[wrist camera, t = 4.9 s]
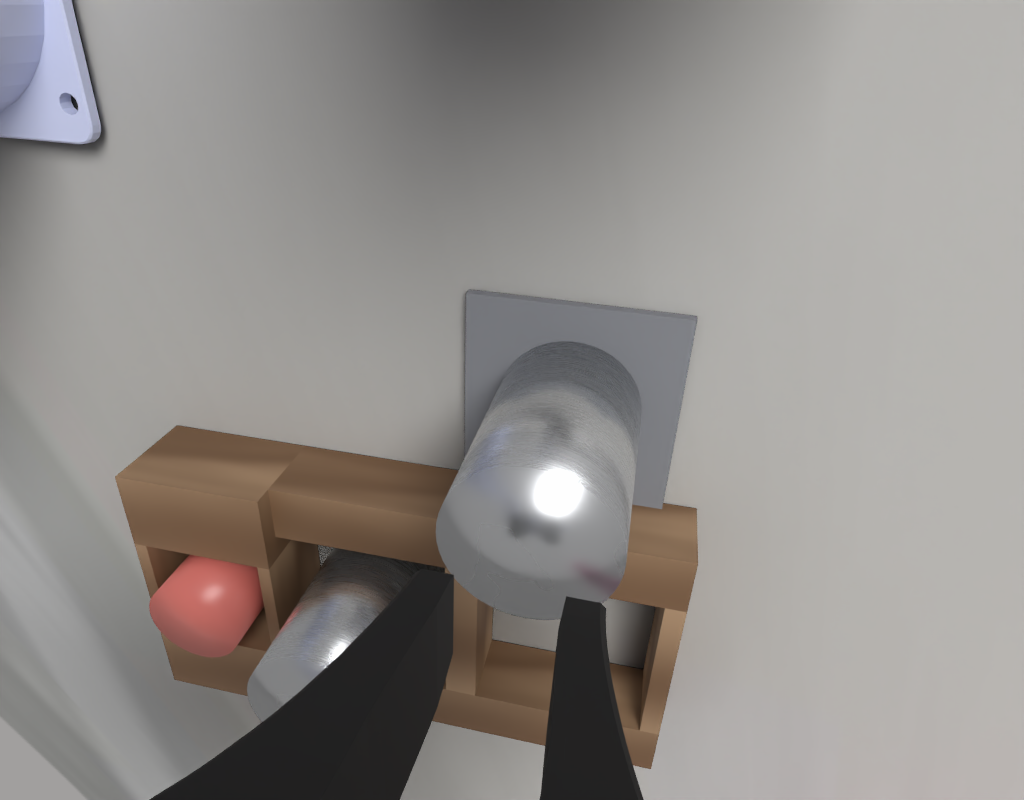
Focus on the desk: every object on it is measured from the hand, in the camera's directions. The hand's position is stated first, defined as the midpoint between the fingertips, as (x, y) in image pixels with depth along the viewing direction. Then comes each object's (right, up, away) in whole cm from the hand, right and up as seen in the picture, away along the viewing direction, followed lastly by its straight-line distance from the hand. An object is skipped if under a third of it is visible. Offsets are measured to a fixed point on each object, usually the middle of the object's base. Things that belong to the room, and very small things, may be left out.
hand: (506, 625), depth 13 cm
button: (-9, -1, +12) cm, 15 cm away
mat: (+2, +4, +7) cm, 8 cm away
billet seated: (-4, -2, +12) cm, 13 cm away
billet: (+2, +4, +7) cm, 8 cm away
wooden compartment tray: (-3, -2, +12) cm, 12 cm away
